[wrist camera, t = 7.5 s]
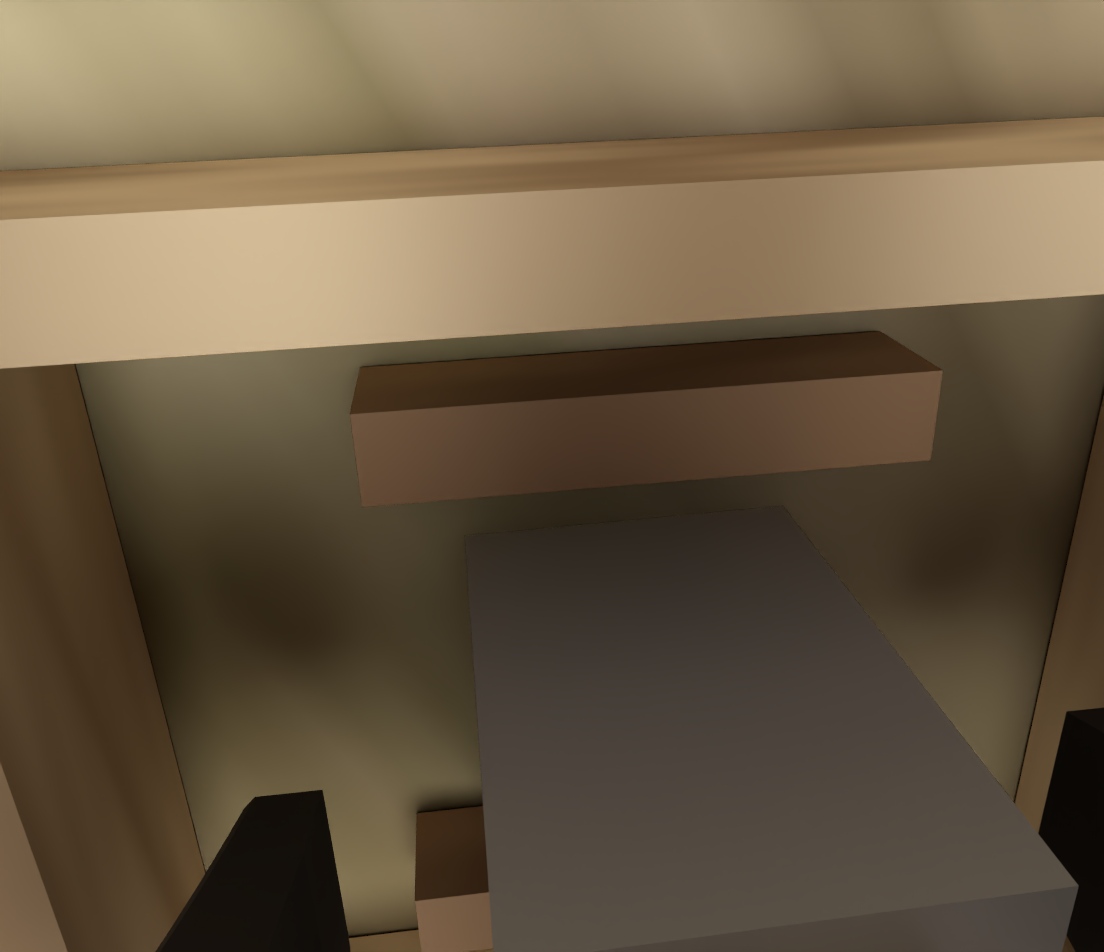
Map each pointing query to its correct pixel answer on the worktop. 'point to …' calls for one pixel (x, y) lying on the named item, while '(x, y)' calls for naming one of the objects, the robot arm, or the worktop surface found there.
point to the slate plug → (727, 757)
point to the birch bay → (477, 406)
